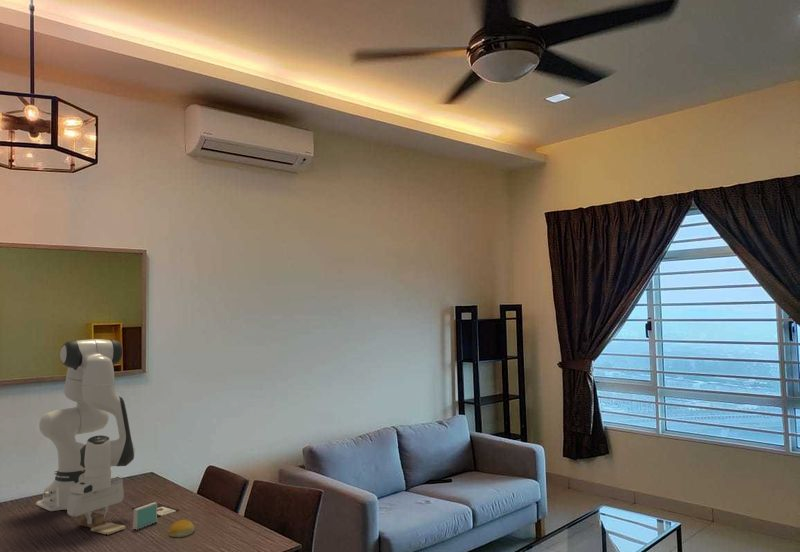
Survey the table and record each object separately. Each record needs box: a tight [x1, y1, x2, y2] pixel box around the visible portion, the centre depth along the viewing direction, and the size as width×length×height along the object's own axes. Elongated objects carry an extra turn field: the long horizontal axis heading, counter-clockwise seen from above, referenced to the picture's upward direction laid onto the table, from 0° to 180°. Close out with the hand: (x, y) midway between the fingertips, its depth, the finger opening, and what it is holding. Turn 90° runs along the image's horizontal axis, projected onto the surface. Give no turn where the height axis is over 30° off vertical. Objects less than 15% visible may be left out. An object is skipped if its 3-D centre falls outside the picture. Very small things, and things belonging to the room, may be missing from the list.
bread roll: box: [168, 519, 196, 538], centre depth 204 cm, size 8×9×4 cm
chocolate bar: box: [131, 501, 180, 518], centre depth 229 cm, size 9×1×18 cm
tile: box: [132, 501, 158, 531], centre depth 212 cm, size 2×9×7 cm, turn 154°
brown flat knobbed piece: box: [77, 511, 126, 536], centre depth 210 cm, size 19×7×4 cm, turn 63°
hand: (96, 521), depth 210 cm, fingers closed on brown flat knobbed piece, 3 cm apart
